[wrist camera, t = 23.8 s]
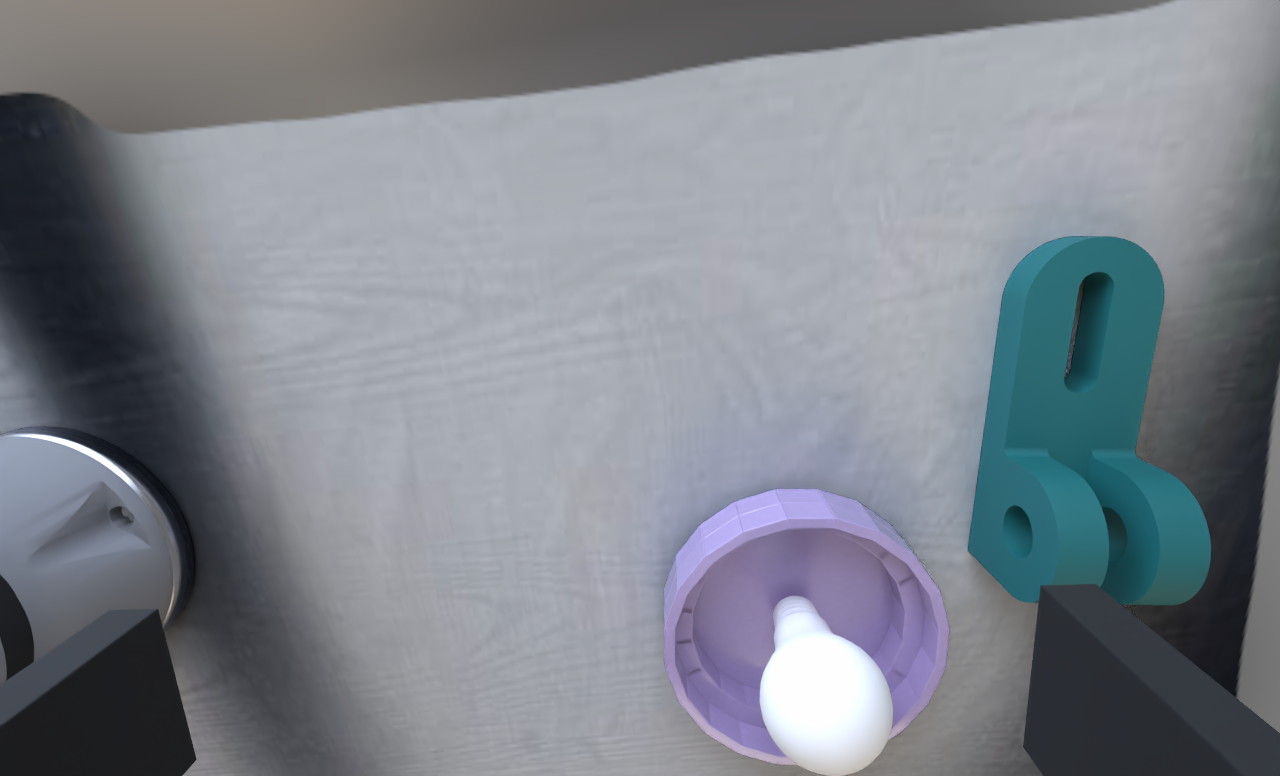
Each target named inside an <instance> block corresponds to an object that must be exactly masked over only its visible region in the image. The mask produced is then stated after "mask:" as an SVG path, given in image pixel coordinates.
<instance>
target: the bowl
mask: <svg viewBox="0 0 1280 776" xmlns="http://www.w3.org/2000/svg"><path fill="white" fill-rule="evenodd" d="M789 596H802V597H804V598H806V599H808V600H809V601H810V602H812V604H813V605H814V607H815V609H816V610H817V612H818V614H819V616H820V617H821V618H822V619H823V620H824V621H825V622H826V623H827V624H828V626H829V628H830V630H831V631H832V633H833V634H835V635H837V636H840V637H842V638H844V639H846V640H848V641H850V642H852V643H854V644H855V645H857V646H859V647H860V648H861V649H862V650H864V651H865V652H866V653H867V654H868V655H869V656H870V657H871V658H872V659H873V660H874V661H875V663H876V664H877V665H878V667H879V668H880V670H881V671H882V673H883V675H884V677H885V679H886V681H887V684H888V686H889V689H890V693H891V698H892V705H893V722H892V729H891V732H890V735H889V738H888V740H890V739H891V738H893V737H895V736H897V735H898V734H900V733H901V732H902V731H903V730H904V729H905V728H906V727H907V726H908V725H909V724H910V723H911V722H912V721H913V720H914V719H915V718H916V716H917V715H918V714H919V713H920V712H921V711H922V710H923V709H924V708H925V707H926V706H927V704H928V703H929V701H930V699H931V697H932V695H933V693H934V691H935V689H936V687H937V685H938V683H939V681H940V679H941V677H942V675H943V673H944V671H945V668H946V661H947V652H948V643H949V635H950V626H949V622H948V619H947V615H946V611H945V607H944V603H943V599H942V596H941V592H940V589H939V588H938V587H937V585H936V584H935V582H934V581H933V580H932V578H931V577H930V575H929V574H928V573H927V571H926V570H925V568H924V567H923V566H922V564H921V563H920V561H919V560H918V559H917V557H916V556H915V555H914V553H913V552H912V551H911V550H910V548H909V547H908V546H907V544H906V543H905V542H904V541H903V539H902V538H901V537H900V536H899V534H898V533H897V532H896V530H895V529H894V528H893V527H892V525H891V524H890V523H888V522H887V521H885V520H884V519H883V518H881V517H880V516H878V515H877V514H875V513H874V512H873V511H871V510H870V509H868V508H867V507H865V506H864V505H863V504H861V503H860V502H857V501H855V500H852V499H849V498H846V497H842V496H839V495H836V494H832V493H829V492H826V491H823V490H818V489H776V490H771V491H768V492H765V493H761V494H758V495H755V496H751V497H748V498H744V499H741V500H738V501H736V502H733V503H732V504H730V505H729V506H727V507H726V508H724V509H723V510H721V511H720V512H718V513H717V514H715V515H714V516H712V517H711V518H709V519H707V520H706V521H704V522H703V523H702V524H700V525H699V527H698V528H697V529H696V530H695V532H694V533H693V534H692V535H691V537H690V538H689V539H688V540H687V542H686V543H685V544H684V545H683V547H682V548H681V549H680V550H679V552H678V553H677V555H676V557H675V559H674V562H673V565H672V568H671V571H670V573H669V576H668V579H667V582H666V585H665V587H664V665H665V669H666V671H667V674H668V676H669V679H670V682H671V684H672V687H673V690H674V692H675V695H676V698H677V700H678V701H679V703H680V704H681V706H682V707H683V708H684V709H685V710H686V712H687V713H688V714H689V715H690V716H691V718H692V719H693V720H694V721H695V722H696V723H697V725H698V726H699V727H700V728H701V729H702V731H704V733H706V734H708V735H709V736H711V737H712V738H714V739H716V740H717V741H719V742H720V743H722V744H724V745H725V746H727V747H728V748H730V749H731V750H733V751H735V752H736V753H738V754H741V755H745V756H748V757H752V758H755V759H759V760H762V761H766V762H769V763H773V764H776V765H798V764H796V763H795V762H793V761H792V760H790V759H789V758H788V757H787V756H786V755H785V754H783V752H782V751H781V750H780V748H779V747H778V746H777V745H776V743H775V742H774V741H773V739H772V738H771V736H770V734H769V732H768V730H767V728H766V725H765V723H764V721H763V717H762V712H761V707H760V702H759V701H760V684H761V679H762V675H763V672H764V670H765V668H766V666H767V664H768V662H769V660H770V658H771V656H772V654H773V653H774V652H775V643H774V632H775V625H774V620H773V619H774V618H773V612H774V609H775V607H776V605H777V604H778V602H780V601H781V600H782V599H784V598H786V597H789ZM888 740H887V741H888Z"/></svg>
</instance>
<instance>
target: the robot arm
mask: <svg viewBox="0 0 1280 776" xmlns="http://www.w3.org/2000/svg"><path fill="white" fill-rule="evenodd" d="M193 579H194V553H193V546H192V542H191V538H190V534H189V531H188V528H187V525H186V523H185V521H184V518H183V516H182V514H181V512H180V510H179V508H178V507H177V505H176V503H175V502H174V500H173V499H172V497H171V496H170V494H169V493H168V491H167V490H166V489H165V488H164V486H163V485H162V484H161V483H160V481H159V480H158V479H157V478H156V477H155V476H154V475H153V474H152V473H151V472H150V471H149V470H148V469H147V468H145V467H144V466H143V465H142V464H141V463H140V462H138V461H137V460H136V459H134V458H133V457H132V456H130V455H129V454H127V453H126V452H124V451H123V450H121V449H120V448H118V447H116V446H114V445H112V444H110V443H109V442H106V441H104V440H102V439H100V438H97V437H95V436H92V435H89V434H86V433H83V432H79V431H75V430H71V429H66V428H59V427H46V426H44V427H28V428H21V429H17V430H13V431H9V432H6V433H3V434H0V776H182V775H183V774H184V773H185V772H186V771H187V770H188V769H189V768H190V766H191V765H192V764H193V763H194V762H195V761H196V756H195V752H194V748H193V744H192V740H191V736H190V732H189V728H188V724H187V720H186V716H185V712H184V709H183V705H182V701H181V697H180V693H179V689H178V685H177V681H176V677H175V673H174V669H173V665H172V661H171V657H170V653H169V649H168V646H167V642H166V638H165V634H164V632H165V631H166V630H167V629H168V628H169V627H170V626H171V625H172V624H173V623H174V622H175V620H176V619H177V618H178V617H179V615H180V614H181V612H182V611H183V609H184V607H185V605H186V603H187V601H188V598H189V595H190V592H191V589H192V584H193ZM1023 747H1024V749H1025V750H1026V751H1027V753H1028V754H1029V756H1030V757H1031V759H1032V760H1033V761H1034V763H1035V764H1036V766H1037V767H1038V769H1039V770H1040V771H1041V773H1042V774H1043V776H1280V733H1279V732H1277V731H1276V730H1275V729H1274V728H1272V727H1271V726H1270V725H1269V724H1267V723H1266V722H1265V721H1264V720H1263V719H1261V718H1260V717H1259V716H1258V715H1256V714H1255V713H1254V712H1253V711H1252V710H1250V709H1249V708H1248V707H1247V706H1245V705H1244V704H1243V703H1242V702H1240V701H1239V700H1238V699H1237V698H1235V697H1234V696H1233V695H1232V694H1231V693H1229V692H1228V691H1227V690H1226V689H1224V688H1223V687H1222V686H1221V685H1219V684H1218V683H1217V682H1216V681H1215V680H1213V679H1212V678H1211V677H1210V676H1208V675H1207V674H1206V673H1205V672H1203V671H1202V670H1201V669H1200V668H1198V667H1197V666H1196V665H1195V664H1194V663H1192V662H1191V661H1190V660H1189V659H1187V658H1186V657H1185V656H1184V655H1182V654H1181V653H1180V652H1179V651H1178V650H1176V649H1175V648H1174V647H1173V646H1171V645H1170V644H1169V643H1168V642H1166V641H1165V640H1164V639H1163V638H1161V637H1160V636H1159V635H1158V634H1157V633H1155V632H1154V631H1153V630H1152V629H1150V628H1149V627H1148V626H1147V625H1145V624H1144V623H1143V622H1142V621H1141V620H1139V619H1138V618H1137V617H1136V616H1134V615H1133V614H1132V613H1131V612H1129V611H1128V610H1127V609H1126V608H1124V607H1123V606H1122V605H1121V604H1120V603H1118V602H1117V601H1116V600H1115V599H1113V598H1112V597H1111V596H1110V595H1108V594H1107V593H1106V592H1105V591H1103V590H1102V589H1101V588H1100V587H1099V586H1097V585H1096V584H1079V585H1041V586H1040V596H1039V605H1038V614H1037V624H1036V633H1035V642H1034V651H1033V661H1032V670H1031V679H1030V689H1029V698H1028V707H1027V717H1026V726H1025V735H1024V745H1023Z"/></svg>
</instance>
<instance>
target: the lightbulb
mask: <svg viewBox="0 0 1280 776" xmlns="http://www.w3.org/2000/svg"><path fill="white" fill-rule="evenodd" d="M773 618H774V619H773V620H774V625H775V632H774V643H775V652H774V653H773V654H772V656H771V658H770V660H769V662H768V664H767V666H766V668H765V670H764V672H763V675H762V679H761V684H760V701H759V702H760V707H761V712H762V717H763V721H764V723H765V725H766V728H767V730H768V732H769V734H770V736H771V738H772V739H773V741H774V742H775V743H776V745H777V746H778V747H779V748H780V750H781V751H782V752H783V754H785V755H786V756H787V757H788V758H789V759H790V760H792V761H793V762H795V763H796V764H798V765H799V766H801V767H803V768H805V769H806V770H809V771H812V772H815V773H818V774H822V775H828V776H842V775H848V774H851V773H855V772H857V771H859V770H861V769H863V768H865V767H866V766H868V765H869V764H870V763H872V762H873V761H874V759H875V758H876V757H877V756H878V755H879V754H880V753H881V752H882V750H883V748H884V746H885V745H886V743H887V740H888V738H889V735H890V732H891V729H892V722H893V705H892V698H891V693H890V689H889V686H888V684H887V681H886V679H885V677H884V675H883V673H882V671H881V670H880V668H879V667H878V665H877V664H876V663H875V661H874V660H873V659H872V658H871V657H870V656H869V655H868V654H867V653H866V652H865V651H864V650H862V649H861V648H860V647H859V646H857V645H855V644H854V643H852V642H850V641H848V640H846V639H844V638H842V637H840V636H837V635H835V634H833V633H832V631H831V630H830V628H829V626H828V624H827V623H826V622H825V621H824V620H823V619H822V618H821V617H820V616H819V614H818V612H817V610H816V609H815V607H814V605H813V604H812V602H810V601H809V600H808V599H806V598H804V597H802V596H789V597H786V598H784V599H782V600H781V601H780V602H778V604H777V605H776V607H775V609H774V612H773Z"/></svg>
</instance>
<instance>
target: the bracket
mask: <svg viewBox="0 0 1280 776" xmlns="http://www.w3.org/2000/svg"><path fill="white" fill-rule="evenodd" d="M1083 279H1084V280H1085V286H1084V292H1083V298H1082V304H1081V310H1080V316H1079V322H1078V328H1077V334H1076V340H1075V346H1074V352H1073V358H1072V364H1071V370H1070V373H1069V375H1068V376H1067V377H1066V378H1065V379H1064V377H1065V371H1066V365H1067V359H1068V353H1069V347H1070V340H1071V334H1072V328H1073V322H1074V316H1075V310H1076V304H1077V298H1078V292H1079V287H1080V284H1081V282H1082V281H1083ZM1163 304H1164V283H1163V279H1162V275H1161V272H1160V270H1159V268H1158V266H1157V264H1156V262H1155V261H1154V259H1153V258H1152V257H1151V256H1150V255H1149V254H1148V253H1147V252H1146V251H1145V250H1144V249H1143V248H1141V247H1140V246H1138V245H1137V244H1135V243H1133V242H1131V241H1128V240H1125V239H1121V238H1117V237H1093V236H1072V237H1064V238H1059V239H1056V240H1053V241H1050V242H1048V243H1045V244H1043V245H1042V246H1040V247H1038V248H1036V249H1035V250H1034V251H1032V252H1031V253H1030V254H1028V255H1027V256H1026V257H1025V258H1024V259H1023V260H1022V261H1021V262H1020V263H1019V264H1018V266H1017V267H1016V268H1015V270H1014V271H1013V272H1012V274H1011V276H1010V278H1009V280H1008V282H1007V284H1006V286H1005V289H1004V293H1003V297H1002V303H1001V310H1000V318H999V325H998V332H997V340H996V347H995V354H994V362H993V369H992V376H991V384H990V391H989V398H988V406H987V413H986V420H985V428H984V435H983V443H982V450H981V457H980V465H979V472H978V479H977V487H976V494H975V501H974V509H973V516H972V523H971V531H970V538H969V545H968V551H969V552H970V553H971V554H972V555H973V556H974V557H975V558H976V559H977V560H978V561H979V562H980V563H981V564H982V565H983V566H984V568H985V569H986V570H987V571H988V572H989V573H990V574H991V575H992V576H993V577H994V578H995V579H996V580H997V581H998V582H999V583H1000V584H1001V585H1002V586H1003V587H1004V588H1005V589H1006V590H1007V591H1008V592H1009V593H1010V594H1011V595H1012V596H1013V597H1015V598H1016V599H1018V600H1020V601H1023V602H1033V603H1039V596H1040V586H1041V585H1079V584H1096V585H1097V586H1099V587H1100V588H1101V589H1102V590H1103V591H1105V592H1106V593H1107V594H1108V595H1110V596H1111V597H1112V598H1113V599H1115V600H1116V601H1117V602H1118V603H1120V604H1129V605H1177V604H1181V603H1184V602H1186V601H1188V600H1189V599H1191V598H1192V597H1193V596H1194V595H1195V594H1196V593H1197V592H1198V591H1199V590H1200V588H1201V587H1202V585H1203V583H1204V581H1205V579H1206V577H1207V574H1208V570H1209V566H1210V559H1211V543H1210V535H1209V530H1208V526H1207V523H1206V520H1205V517H1204V514H1203V512H1202V510H1201V508H1200V506H1199V504H1198V502H1197V500H1196V499H1195V497H1194V496H1193V494H1192V493H1191V492H1190V491H1189V489H1188V488H1187V487H1186V486H1185V485H1184V484H1183V483H1182V482H1181V481H1180V480H1179V479H1177V478H1176V477H1174V476H1173V475H1171V474H1170V473H1168V472H1166V471H1164V470H1162V469H1159V468H1157V467H1155V466H1153V465H1151V464H1149V463H1147V462H1145V461H1143V460H1140V459H1139V458H1138V457H1137V456H1136V453H1135V448H1136V442H1137V437H1138V432H1139V427H1140V422H1141V417H1142V412H1143V407H1144V402H1145V397H1146V391H1147V386H1148V381H1149V376H1150V371H1151V366H1152V361H1153V356H1154V351H1155V346H1156V340H1157V335H1158V330H1159V325H1160V320H1161V315H1162V310H1163Z"/></svg>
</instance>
